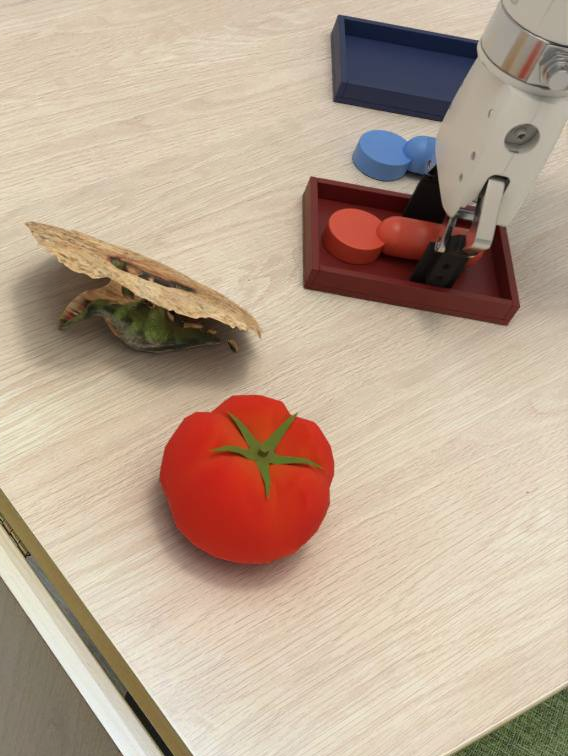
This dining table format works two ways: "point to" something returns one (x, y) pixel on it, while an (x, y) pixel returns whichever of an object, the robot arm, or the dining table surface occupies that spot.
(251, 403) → the tomato
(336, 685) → the dining table surface
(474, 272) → the red tray
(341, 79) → the blue tray
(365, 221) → the red spoon
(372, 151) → the blue spoon
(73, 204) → the dining table surface
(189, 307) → the sandwich
